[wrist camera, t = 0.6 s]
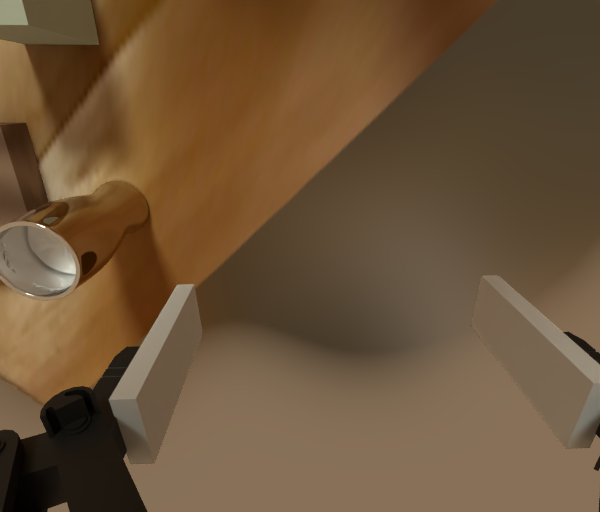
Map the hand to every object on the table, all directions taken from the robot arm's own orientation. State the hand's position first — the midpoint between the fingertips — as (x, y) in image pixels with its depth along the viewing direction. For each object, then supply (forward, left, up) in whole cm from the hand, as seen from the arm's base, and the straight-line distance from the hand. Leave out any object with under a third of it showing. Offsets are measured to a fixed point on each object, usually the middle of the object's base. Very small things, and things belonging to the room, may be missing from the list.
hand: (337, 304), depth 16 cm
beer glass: (+3, -21, -26) cm, 33 cm away
